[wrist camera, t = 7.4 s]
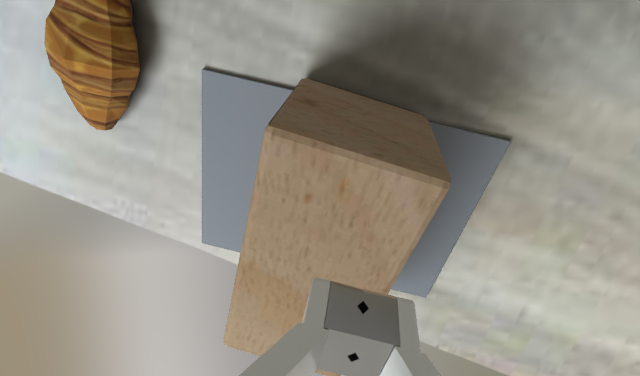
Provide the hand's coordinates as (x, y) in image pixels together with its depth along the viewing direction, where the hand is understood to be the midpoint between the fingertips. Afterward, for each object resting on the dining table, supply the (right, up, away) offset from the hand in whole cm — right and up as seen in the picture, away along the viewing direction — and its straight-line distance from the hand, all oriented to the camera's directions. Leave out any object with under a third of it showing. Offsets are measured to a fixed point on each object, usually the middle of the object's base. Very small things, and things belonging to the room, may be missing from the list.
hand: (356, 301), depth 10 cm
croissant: (-17, +15, +16) cm, 28 cm away
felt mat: (0, +2, +21) cm, 21 cm away
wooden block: (+2, +8, +11) cm, 13 cm away
